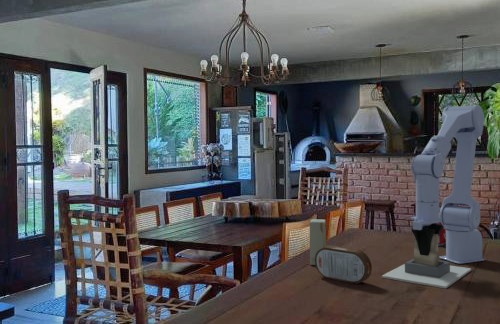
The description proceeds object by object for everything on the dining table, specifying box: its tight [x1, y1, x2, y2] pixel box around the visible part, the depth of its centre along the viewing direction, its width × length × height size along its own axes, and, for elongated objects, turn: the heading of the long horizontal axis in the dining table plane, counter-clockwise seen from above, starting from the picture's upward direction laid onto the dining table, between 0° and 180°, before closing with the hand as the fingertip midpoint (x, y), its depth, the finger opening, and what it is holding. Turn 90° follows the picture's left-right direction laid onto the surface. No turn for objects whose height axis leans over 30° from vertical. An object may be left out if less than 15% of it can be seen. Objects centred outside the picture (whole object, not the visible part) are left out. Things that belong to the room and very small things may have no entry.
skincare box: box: [309, 218, 327, 266], centre depth 145 cm, size 6×4×12 cm
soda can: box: [437, 206, 446, 247], centre depth 167 cm, size 6×6×12 cm
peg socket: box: [381, 257, 472, 289], centre depth 132 cm, size 20×16×3 cm
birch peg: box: [413, 234, 439, 266], centre depth 132 cm, size 4×5×8 cm
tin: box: [314, 244, 373, 285], centre depth 127 cm, size 15×3×8 cm, turn 50°
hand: (427, 253), depth 132 cm, fingers closed on birch peg, 3 cm apart
